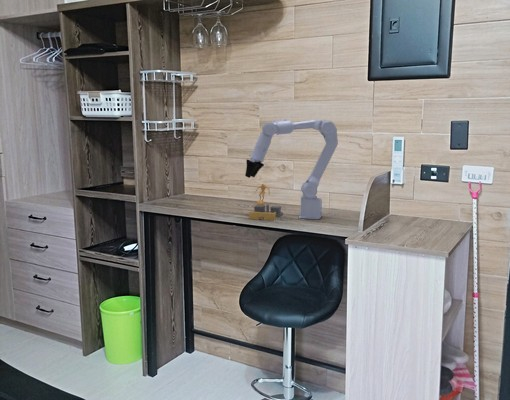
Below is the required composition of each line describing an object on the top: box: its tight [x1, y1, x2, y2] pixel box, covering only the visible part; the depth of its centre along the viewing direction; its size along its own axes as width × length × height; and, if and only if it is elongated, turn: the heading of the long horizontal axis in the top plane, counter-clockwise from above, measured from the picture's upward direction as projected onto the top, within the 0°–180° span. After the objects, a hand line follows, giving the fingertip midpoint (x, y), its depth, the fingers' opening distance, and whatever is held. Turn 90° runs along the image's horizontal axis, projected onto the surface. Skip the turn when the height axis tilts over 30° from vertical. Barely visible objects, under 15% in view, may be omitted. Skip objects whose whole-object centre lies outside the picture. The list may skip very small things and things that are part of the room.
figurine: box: [254, 183, 271, 206], centre depth 254 cm, size 8×6×12 cm
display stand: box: [253, 203, 284, 218], centre depth 237 cm, size 7×13×5 cm, turn 74°
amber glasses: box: [248, 210, 276, 221], centre depth 229 cm, size 4×12×3 cm, turn 74°
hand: (249, 176), depth 230 cm, fingers open, 7 cm apart
